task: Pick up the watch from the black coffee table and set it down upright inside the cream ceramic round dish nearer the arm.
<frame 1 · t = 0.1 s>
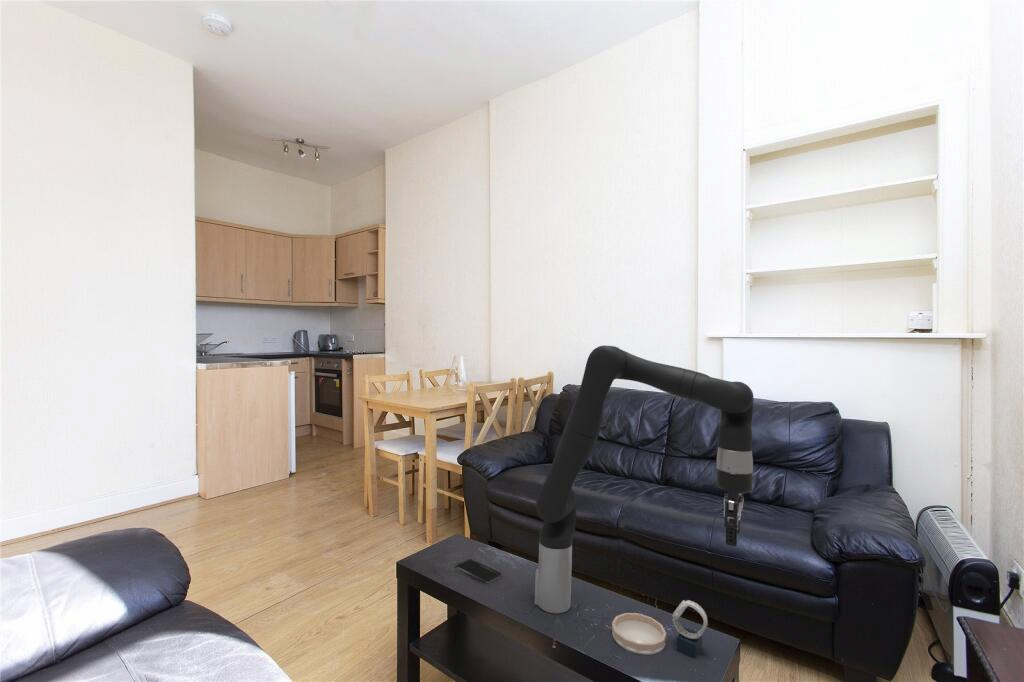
hand: (732, 538, 104), 29 cm above the table, tool pointing down, fingers open, 8 cm apart
dish: (638, 637, 112), on the table
watch: (688, 649, 108), on the table
phone: (478, 574, 142), on the table
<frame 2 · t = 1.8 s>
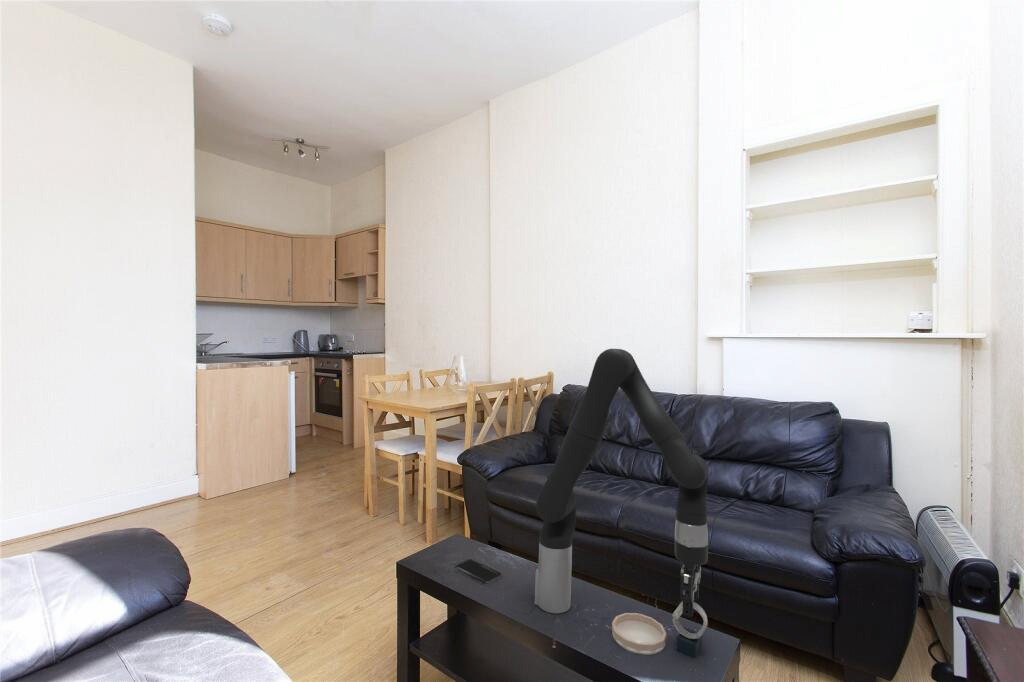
hand: (690, 606, 108), 10 cm above the table, tool pointing down, fingers open, 8 cm apart
nothing on the table moved.
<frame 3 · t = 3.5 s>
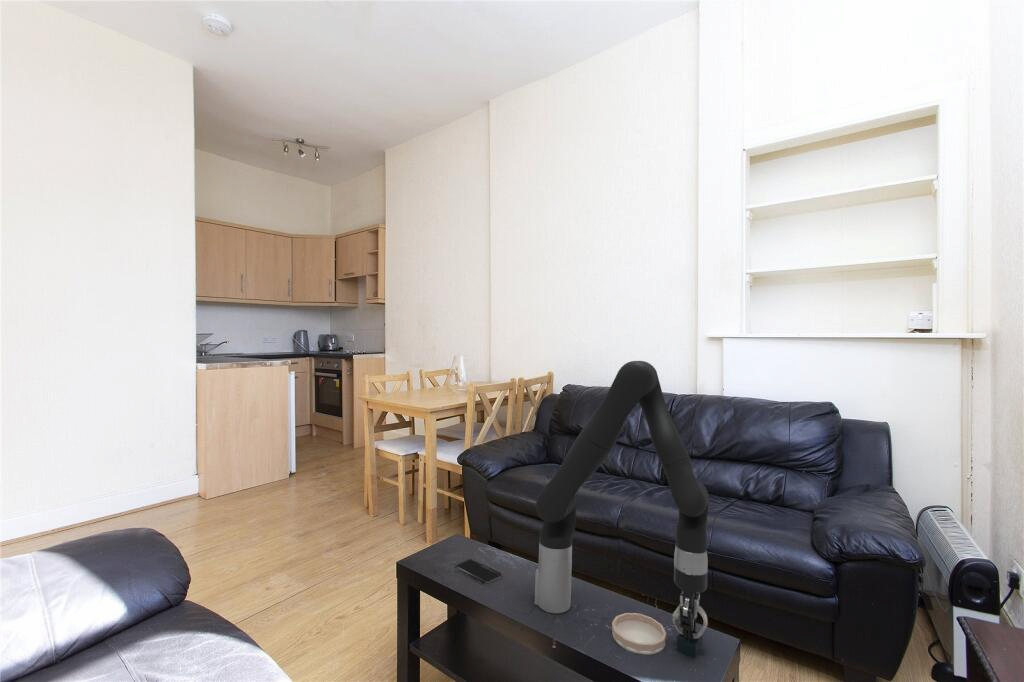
hand: (689, 637, 108), 3 cm above the table, tool pointing down, fingers closed on watch, 3 cm apart
watch: (688, 649, 108), on the table, touching gripper
everything else where it was.
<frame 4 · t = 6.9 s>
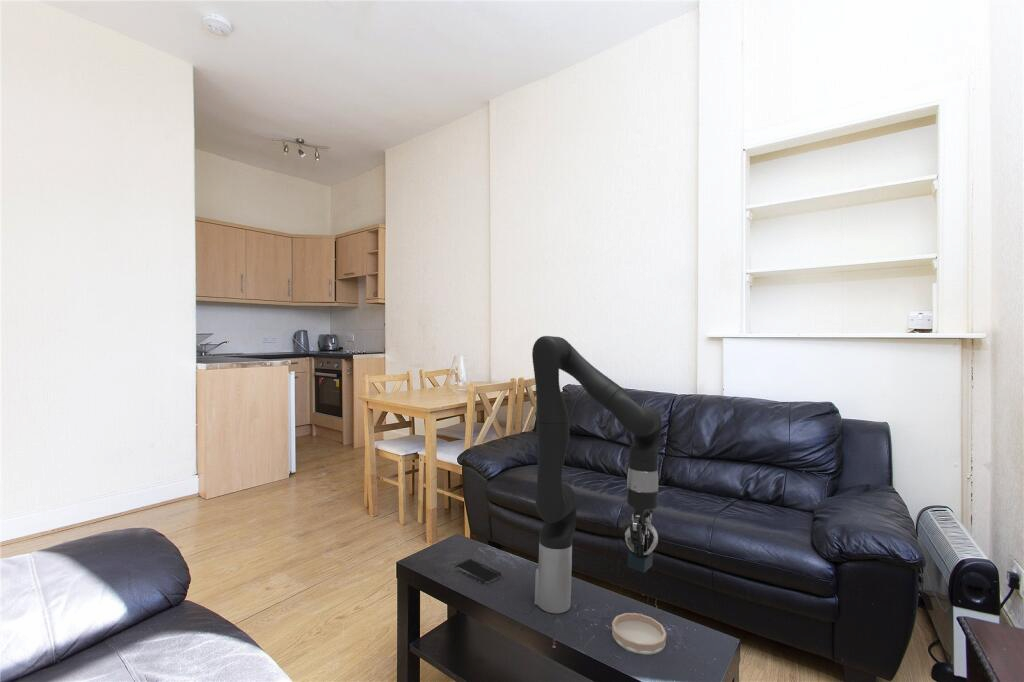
hand: (640, 554, 113), 20 cm above the table, tool pointing down, fingers closed on watch, 3 cm apart
watch: (639, 567, 112), point 18 cm above the table, touching gripper
everything else where it was.
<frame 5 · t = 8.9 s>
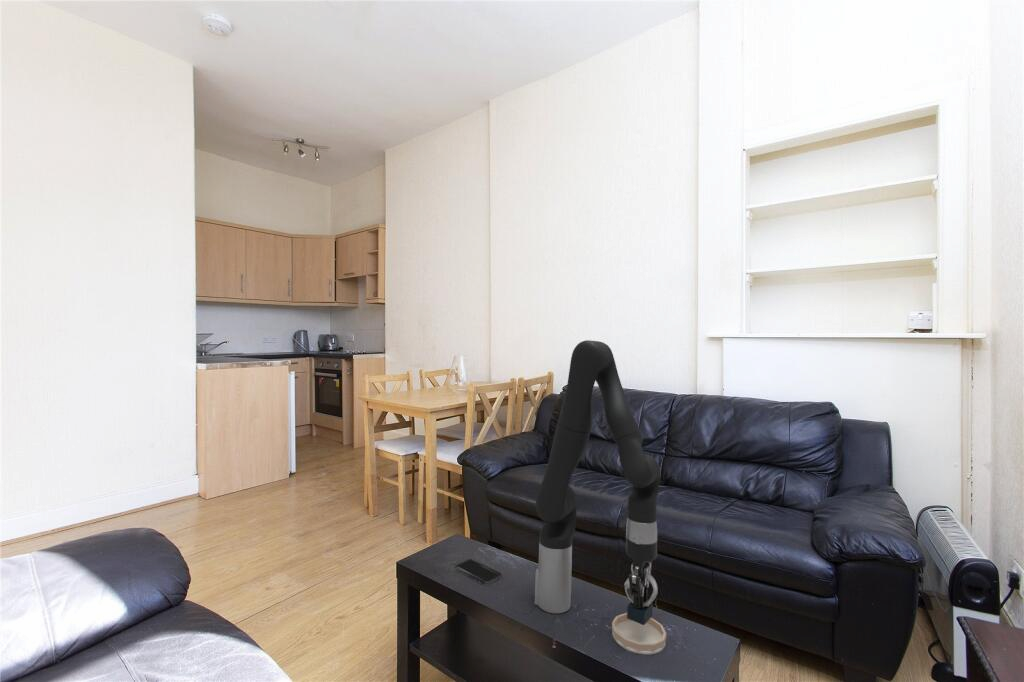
hand: (640, 605, 112), 8 cm above the table, tool pointing down, fingers closed on watch, 3 cm apart
watch: (639, 617, 112), point 5 cm above the table, touching gripper
everything else where it was.
when the fingers open (5 cm above the table, at t = 10.3 s): watch drops 1 cm, resting on dish.
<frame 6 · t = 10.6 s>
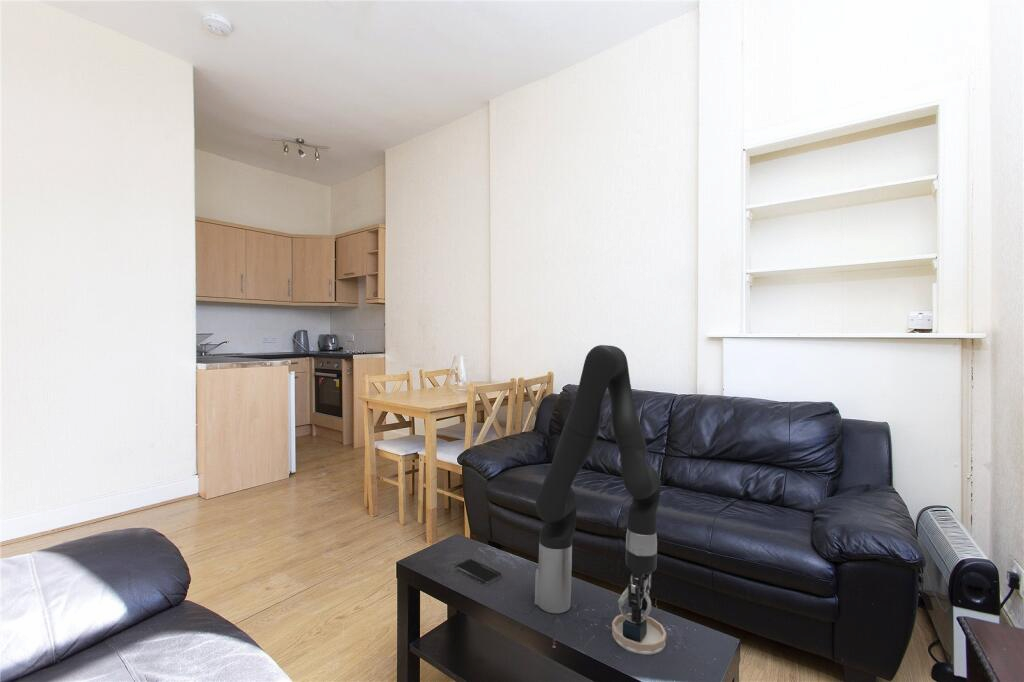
hand: (639, 615, 112), 6 cm above the table, tool pointing down, fingers open, 6 cm apart
watch: (634, 636, 111), point 1 cm above the table, touching dish, gripper
everything else where it was.
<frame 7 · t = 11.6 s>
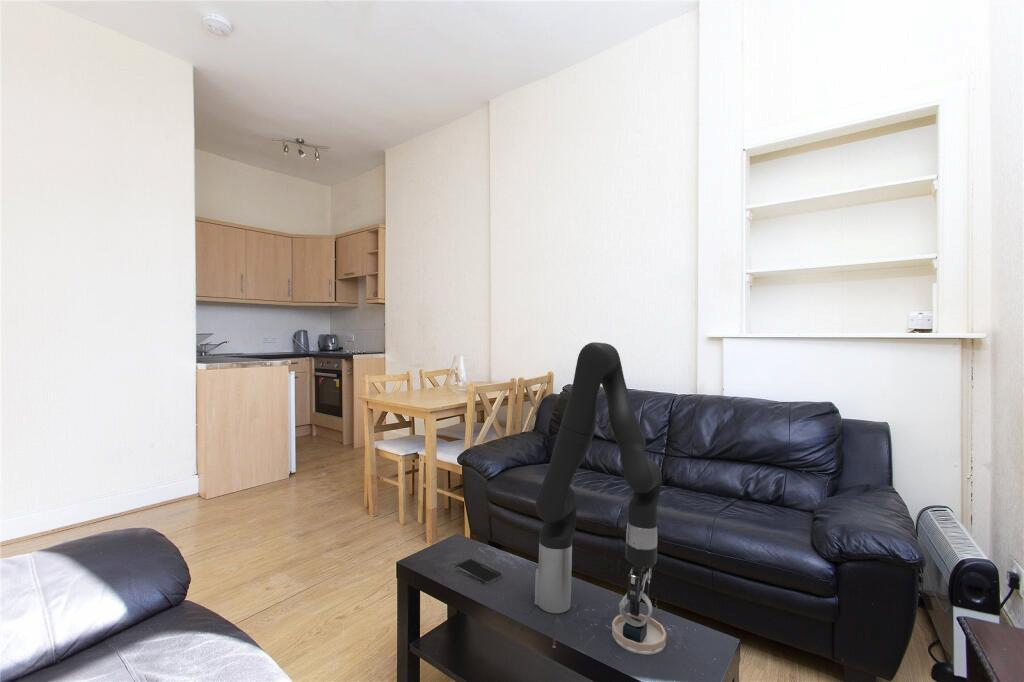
hand: (639, 606, 112), 8 cm above the table, tool pointing down, fingers open, 8 cm apart
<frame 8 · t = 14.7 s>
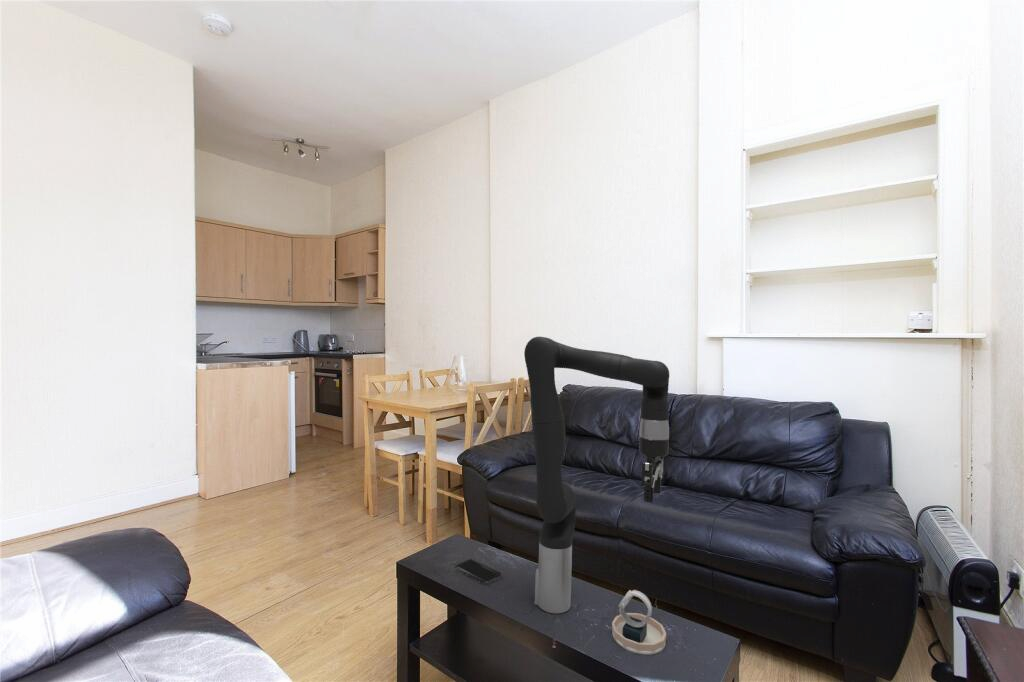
hand: (652, 497, 119), 33 cm above the table, tool pointing down, fingers open, 8 cm apart
watch: (634, 638, 111), point 1 cm above the table, touching dish
everything else where it was.
at the end: watch 2.0 cm off-centre on the dish, point 0.6 cm above the dish's base; watch tilted 0°; the gripper is holding nothing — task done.
